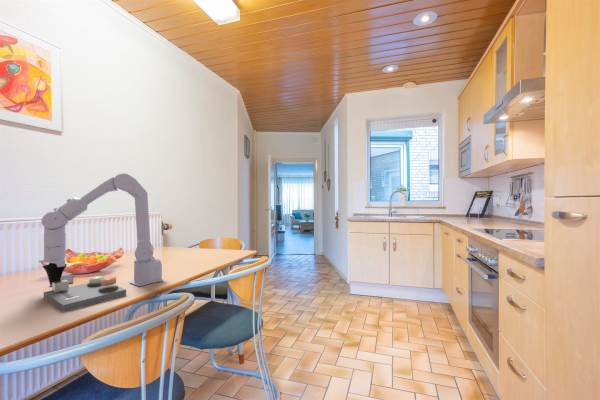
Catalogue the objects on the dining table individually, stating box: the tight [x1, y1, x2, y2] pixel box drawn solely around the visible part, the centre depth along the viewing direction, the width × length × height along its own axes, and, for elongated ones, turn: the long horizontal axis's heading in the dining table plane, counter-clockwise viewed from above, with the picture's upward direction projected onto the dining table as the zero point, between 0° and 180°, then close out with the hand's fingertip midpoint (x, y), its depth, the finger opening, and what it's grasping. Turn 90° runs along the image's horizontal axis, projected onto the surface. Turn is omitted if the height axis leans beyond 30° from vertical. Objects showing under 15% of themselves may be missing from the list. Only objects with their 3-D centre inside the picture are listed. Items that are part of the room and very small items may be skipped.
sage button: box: [88, 275, 105, 284], centre depth 100 cm, size 4×4×2 cm
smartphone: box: [49, 274, 74, 288], centre depth 111 cm, size 7×1×15 cm
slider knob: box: [51, 280, 70, 293], centre depth 92 cm, size 4×3×3 cm
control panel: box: [43, 282, 127, 313], centre depth 93 cm, size 17×20×3 cm
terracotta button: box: [101, 276, 117, 286], centre depth 94 cm, size 4×4×2 cm
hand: (54, 284), depth 96 cm, fingers closed
